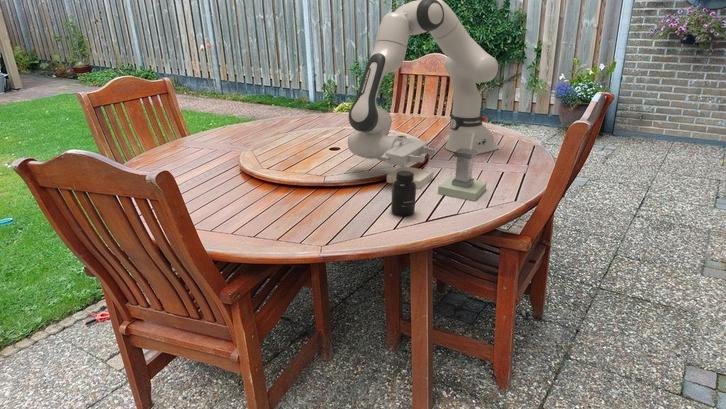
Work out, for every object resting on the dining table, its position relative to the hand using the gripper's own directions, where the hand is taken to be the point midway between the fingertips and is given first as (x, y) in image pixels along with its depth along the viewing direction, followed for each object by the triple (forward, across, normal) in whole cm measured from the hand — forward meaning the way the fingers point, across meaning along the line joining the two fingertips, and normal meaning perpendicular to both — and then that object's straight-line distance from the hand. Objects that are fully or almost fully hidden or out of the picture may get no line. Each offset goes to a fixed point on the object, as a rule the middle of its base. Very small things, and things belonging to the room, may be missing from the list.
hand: (429, 156), depth 159 cm
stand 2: (+12, 0, +10) cm, 16 cm away
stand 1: (-7, +1, +10) cm, 12 cm away
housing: (+12, 0, +8) cm, 14 cm away
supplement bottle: (+3, -25, +10) cm, 27 cm away
